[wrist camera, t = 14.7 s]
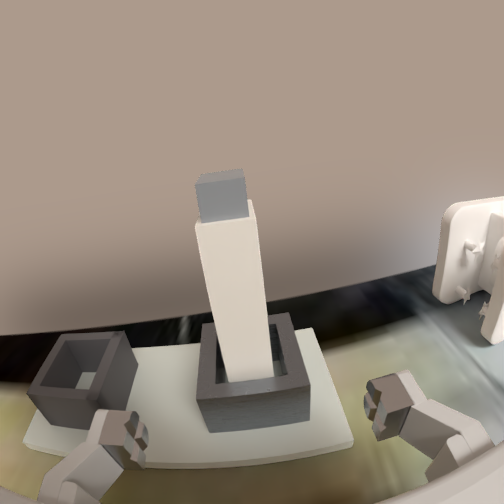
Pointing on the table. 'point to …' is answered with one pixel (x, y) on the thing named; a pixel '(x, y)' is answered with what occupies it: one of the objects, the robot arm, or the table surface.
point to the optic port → (253, 384)
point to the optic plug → (234, 274)
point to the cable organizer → (473, 259)
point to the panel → (170, 404)
